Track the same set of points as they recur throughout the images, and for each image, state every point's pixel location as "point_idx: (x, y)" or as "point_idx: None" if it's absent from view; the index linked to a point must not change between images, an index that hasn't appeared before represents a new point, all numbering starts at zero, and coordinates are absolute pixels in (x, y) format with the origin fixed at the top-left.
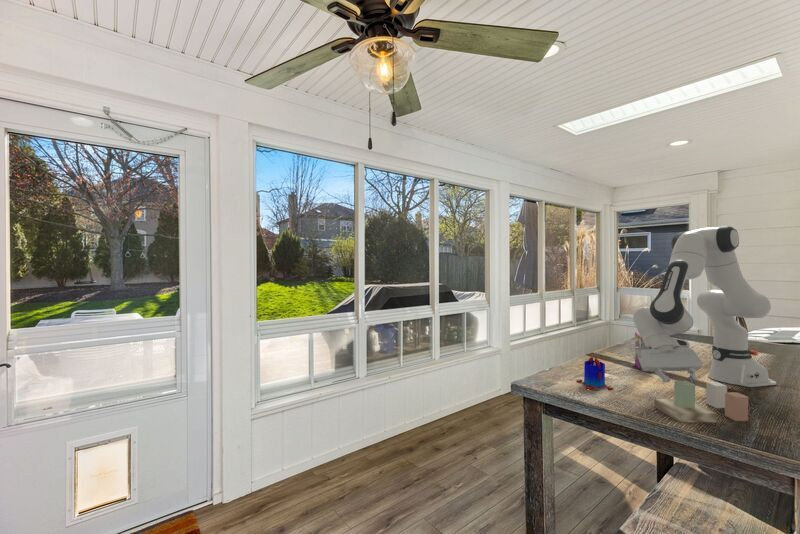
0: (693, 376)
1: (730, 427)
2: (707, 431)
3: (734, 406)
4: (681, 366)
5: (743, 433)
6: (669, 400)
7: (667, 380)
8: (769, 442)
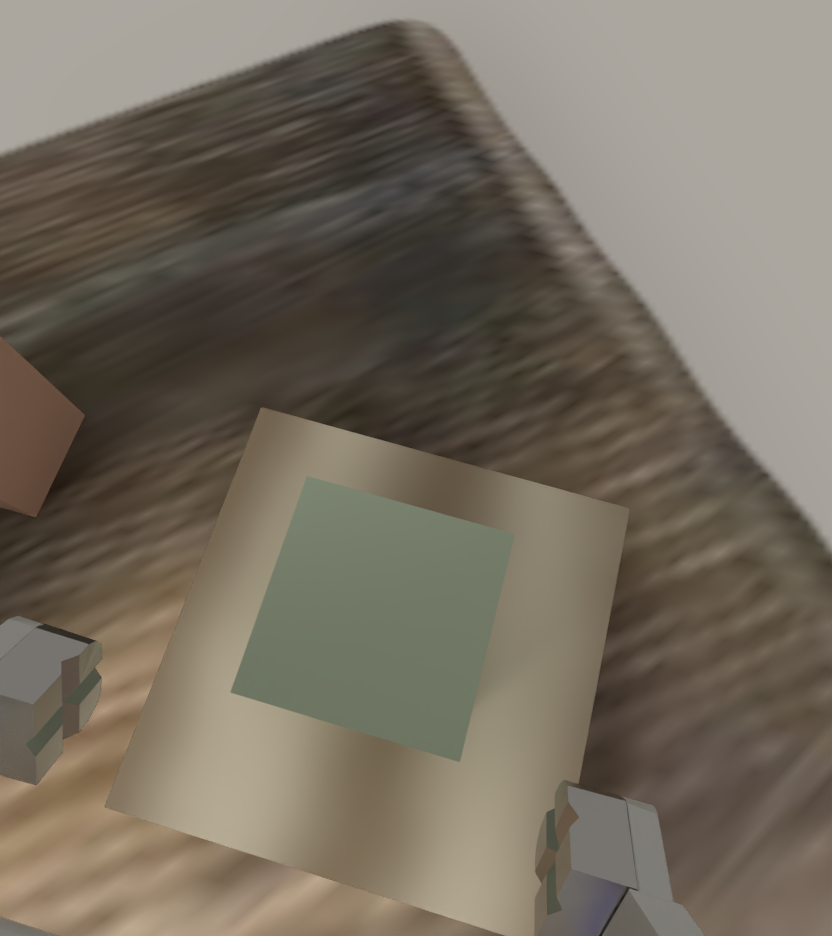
0: (12, 670)
1: (273, 350)
2: (529, 356)
3: (11, 367)
4: (26, 926)
5: (294, 264)
6: (402, 834)
7: (618, 798)
8: (279, 148)
